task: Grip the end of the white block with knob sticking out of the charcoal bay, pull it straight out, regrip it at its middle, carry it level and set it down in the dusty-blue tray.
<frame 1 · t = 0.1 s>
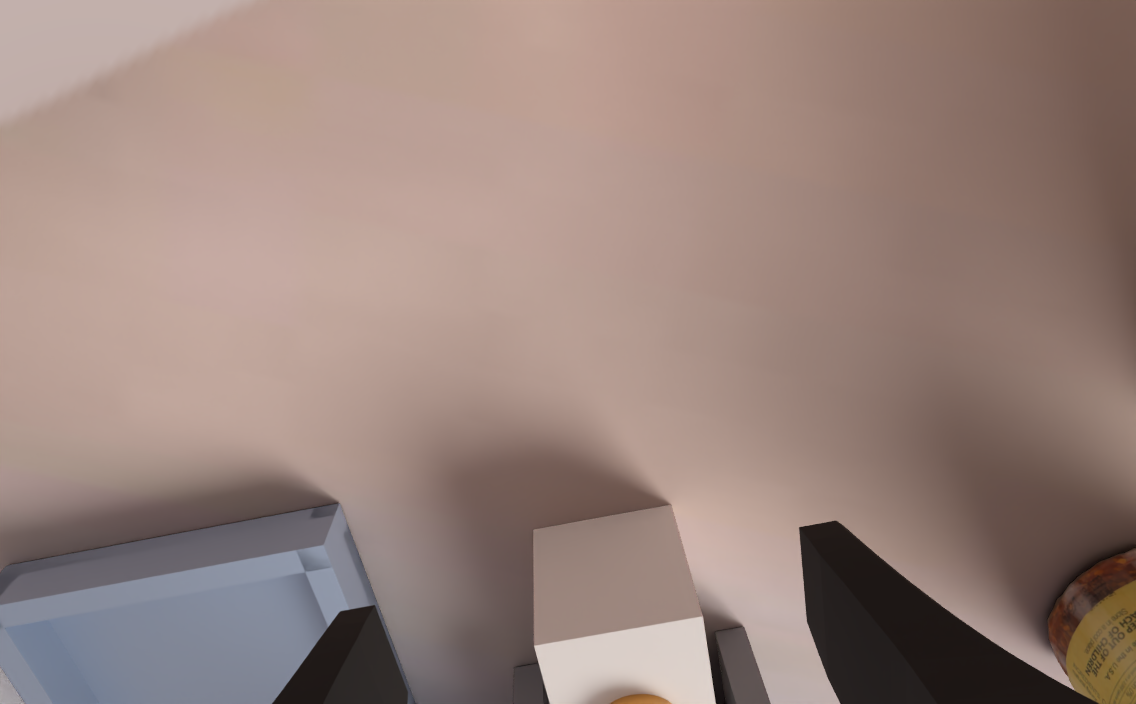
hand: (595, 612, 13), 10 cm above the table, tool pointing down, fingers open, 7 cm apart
white block with knob: (625, 632, 26), on the table
sauce bottle: (1118, 599, 27), on the table
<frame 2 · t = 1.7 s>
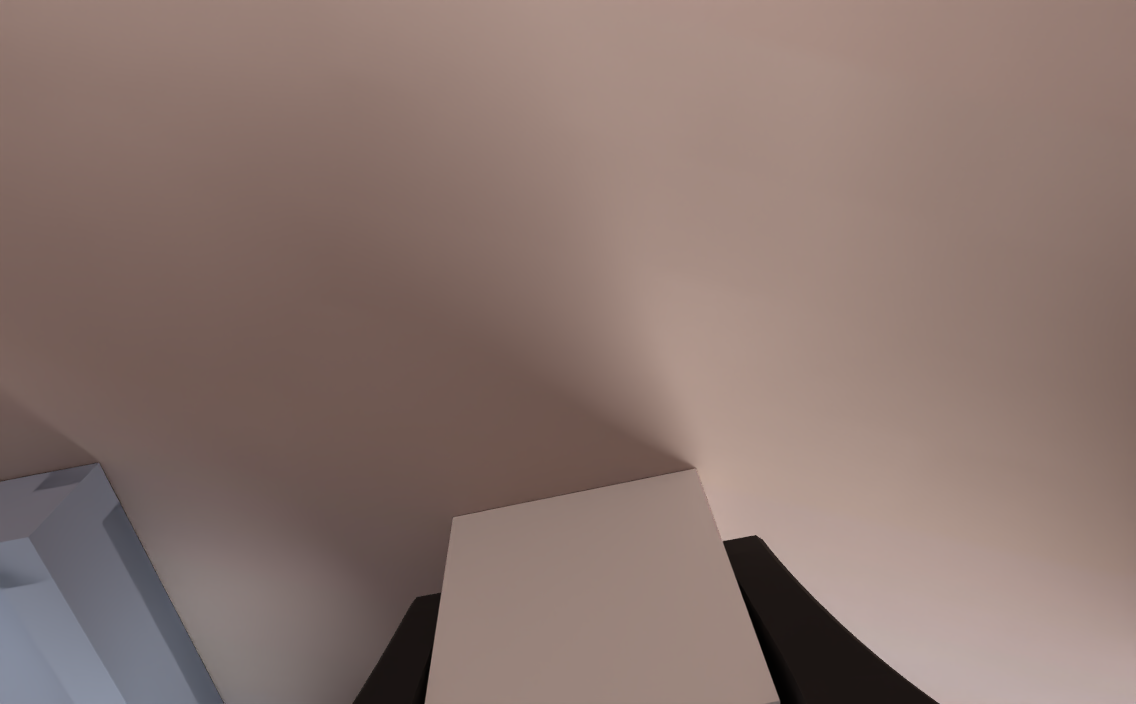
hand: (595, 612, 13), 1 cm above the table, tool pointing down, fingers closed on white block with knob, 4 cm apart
white block with knob: (623, 693, 16), on the table, touching gripper
when the fingers open (2 cm above the table, at t = 4.2 s): white block with knob stays where it is, on the table.
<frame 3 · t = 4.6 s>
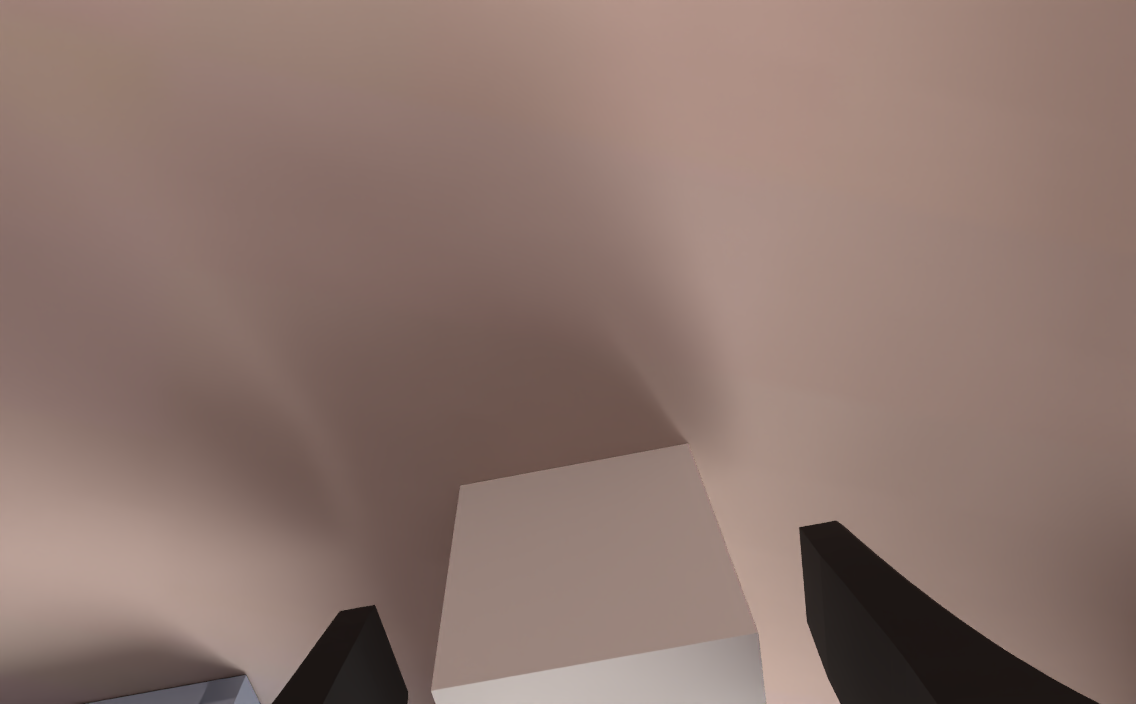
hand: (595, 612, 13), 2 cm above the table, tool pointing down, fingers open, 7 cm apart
white block with knob: (615, 652, 17), on the table
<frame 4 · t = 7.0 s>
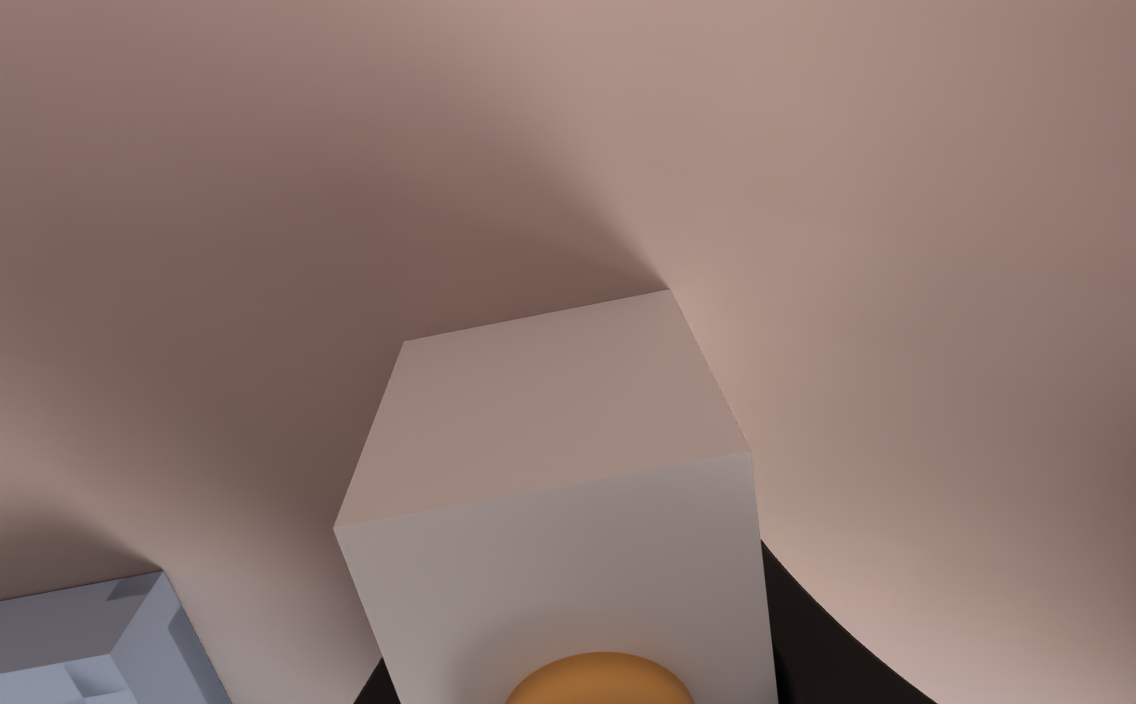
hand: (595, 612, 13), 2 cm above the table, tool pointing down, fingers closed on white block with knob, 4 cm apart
white block with knob: (590, 557, 15), on the table, touching gripper
when the fingers open (4 cm above the table, at t = 10.5 s): white block with knob stays where it is, resting on tray.
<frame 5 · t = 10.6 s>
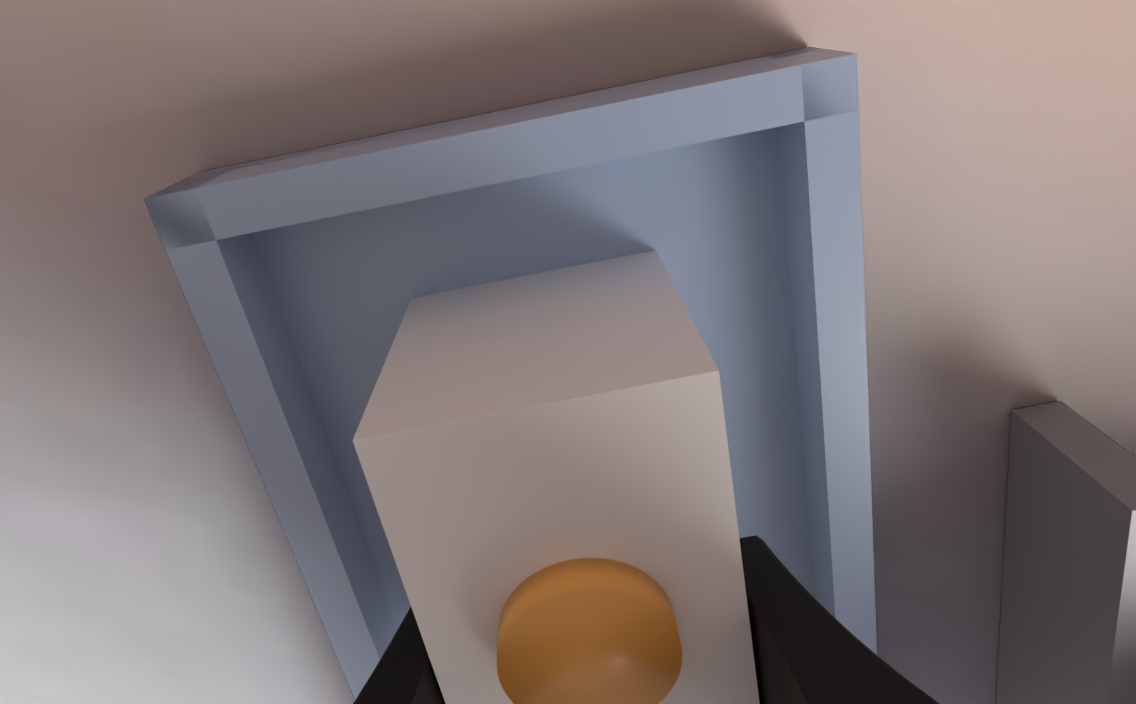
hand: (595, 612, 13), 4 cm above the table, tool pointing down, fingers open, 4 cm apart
white block with knob: (583, 504, 16), point 1 cm above the table, touching tray
tray: (582, 489, 16), on the table
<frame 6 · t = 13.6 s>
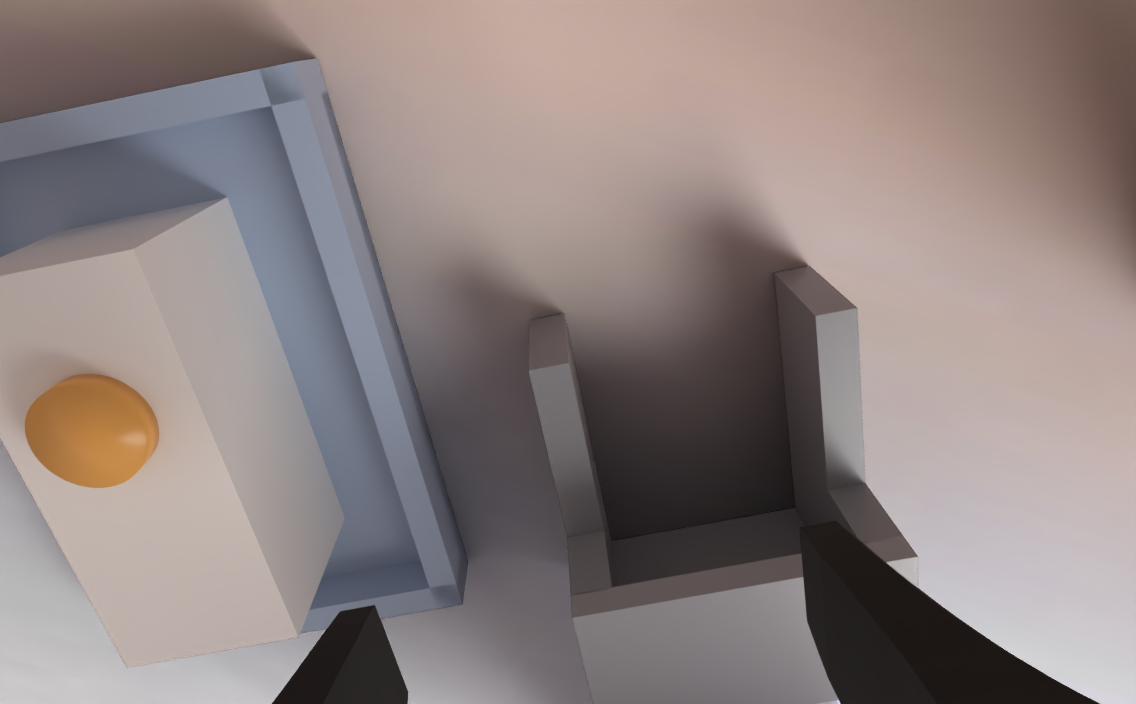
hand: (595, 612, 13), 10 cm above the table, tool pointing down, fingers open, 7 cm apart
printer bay: (689, 430, 24), on the table
white block with knob: (215, 386, 22), point 1 cm above the table, touching tray
tray: (224, 379, 22), on the table
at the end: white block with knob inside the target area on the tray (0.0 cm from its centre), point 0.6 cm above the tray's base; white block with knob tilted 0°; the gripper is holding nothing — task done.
